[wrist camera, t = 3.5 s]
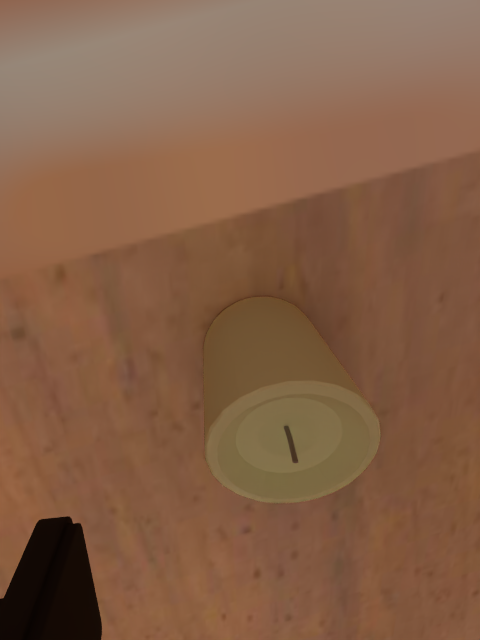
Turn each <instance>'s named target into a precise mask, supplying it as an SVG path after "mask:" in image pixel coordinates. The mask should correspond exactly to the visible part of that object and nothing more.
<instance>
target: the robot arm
mask: <svg viewBox="0 0 480 640" xmlns="http://www.w3.org/2000/svg"><path fill="white" fill-rule="evenodd" d="M101 635H102V623H101V617H100V612H99V607H98V602H97V598H96V593H95V588H94V583H93V578H92V573H91V568H90V563H89V558H88V554H87V549H86V544H85V539H84V534H83V529H82V526H81V524H80V523H75V524H73V522H72V519H71V518H70V517H59V518H49V519H40V520H39V521H38V522H37V524H36V526H35V528H34V530H33V533H32V535H31V537H30V539H29V542H28V544H27V546H26V548H25V551H24V553H23V555H22V558H21V560H20V562H19V564H18V567H17V569H16V571H15V574H14V576H13V578H12V580H11V583H10V585H9V587H8V589H7V592H6V594H5V596H4V598H2V599H0V640H101Z"/></svg>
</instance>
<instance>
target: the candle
mask: <svg viewBox="0 0 480 640" xmlns="http://www.w3.org/2000/svg"><path fill="white" fill-rule="evenodd" d="M203 381H204V442H205V460H206V462H207V464H208V467H209V469H210V471H211V473H212V475H213V476H214V477H215V478H216V479H217V480H218V481H219V482H220V483H221V484H222V485H223V486H224V487H226V488H228V489H230V490H231V491H233V492H235V493H236V494H238V495H240V496H243V497H246V498H250V499H253V500H256V501H261V502H269V503H298V502H303V501H308V500H312V499H317V498H320V497H322V496H325V495H328V494H330V493H333V492H336V491H337V490H339V489H341V488H342V487H344V486H346V485H347V484H349V483H351V482H352V481H354V480H355V479H356V478H357V477H358V476H359V475H360V474H361V473H362V472H363V471H365V470H366V469H367V467H368V466H369V464H370V463H371V461H372V460H373V458H374V456H375V455H376V453H377V450H378V446H379V443H380V439H381V433H380V423H379V420H378V418H377V416H376V414H375V412H374V411H373V409H372V407H371V405H370V404H369V403H368V401H367V400H366V398H365V397H364V396H363V394H362V393H361V391H360V390H359V389H358V387H357V386H356V384H355V383H354V382H353V380H352V379H351V377H350V376H349V375H348V373H347V372H346V370H345V369H344V368H343V366H342V365H341V363H340V362H339V361H338V359H337V358H336V356H335V355H334V354H333V352H332V351H331V349H330V348H329V347H328V345H327V344H326V342H325V341H324V340H323V338H322V337H321V335H320V334H319V333H318V331H317V330H316V328H315V327H314V326H313V324H312V323H311V321H310V320H309V319H308V317H307V316H306V315H305V314H304V313H303V312H302V311H301V310H300V309H299V308H297V307H296V306H294V305H293V304H291V303H289V302H287V301H285V300H283V299H278V298H274V297H270V296H262V297H251V298H247V299H244V300H240V301H237V302H236V303H234V304H232V305H231V306H229V307H227V308H226V309H224V310H223V311H222V312H221V313H220V314H219V315H218V316H217V317H216V318H215V319H214V321H213V322H212V324H211V326H210V328H209V329H208V331H207V333H206V337H205V341H204V345H203Z"/></svg>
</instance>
